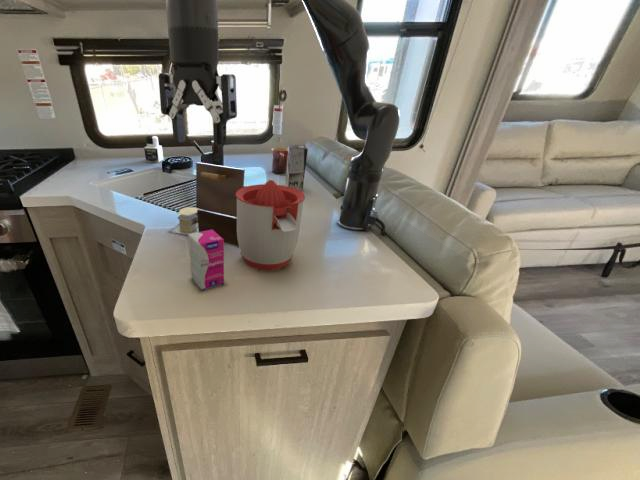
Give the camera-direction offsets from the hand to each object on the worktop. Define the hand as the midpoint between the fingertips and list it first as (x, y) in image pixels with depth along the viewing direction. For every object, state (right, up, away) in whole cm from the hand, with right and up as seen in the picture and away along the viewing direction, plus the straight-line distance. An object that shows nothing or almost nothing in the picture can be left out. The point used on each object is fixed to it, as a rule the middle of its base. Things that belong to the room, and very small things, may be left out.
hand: (199, 144), depth 58 cm
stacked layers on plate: (-8, -6, +41) cm, 42 cm away
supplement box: (0, -24, +16) cm, 29 cm away
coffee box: (+30, +18, +76) cm, 83 cm away
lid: (+2, +1, +27) cm, 27 cm away
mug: (+26, +33, +97) cm, 106 cm away
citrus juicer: (+14, -18, +24) cm, 33 cm away
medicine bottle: (-38, +46, +115) cm, 130 cm away
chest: (+4, -8, +38) cm, 39 cm away
